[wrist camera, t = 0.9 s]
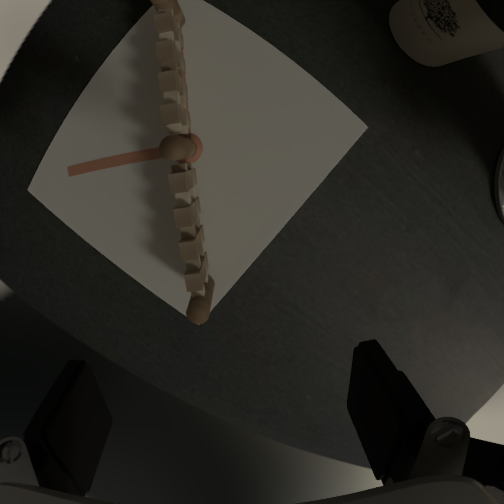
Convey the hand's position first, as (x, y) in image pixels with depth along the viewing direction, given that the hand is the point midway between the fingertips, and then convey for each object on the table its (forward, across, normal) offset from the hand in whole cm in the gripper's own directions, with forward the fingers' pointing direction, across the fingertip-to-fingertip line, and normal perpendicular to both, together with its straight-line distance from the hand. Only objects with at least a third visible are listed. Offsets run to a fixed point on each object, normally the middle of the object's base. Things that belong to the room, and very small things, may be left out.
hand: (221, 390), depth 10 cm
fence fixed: (+20, +3, -14) cm, 25 cm away
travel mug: (+20, -21, -20) cm, 35 cm away
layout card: (+20, +4, -8) cm, 22 cm away
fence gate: (+20, +3, -1) cm, 20 cm away
